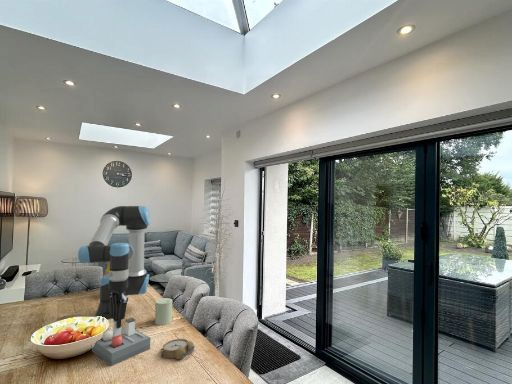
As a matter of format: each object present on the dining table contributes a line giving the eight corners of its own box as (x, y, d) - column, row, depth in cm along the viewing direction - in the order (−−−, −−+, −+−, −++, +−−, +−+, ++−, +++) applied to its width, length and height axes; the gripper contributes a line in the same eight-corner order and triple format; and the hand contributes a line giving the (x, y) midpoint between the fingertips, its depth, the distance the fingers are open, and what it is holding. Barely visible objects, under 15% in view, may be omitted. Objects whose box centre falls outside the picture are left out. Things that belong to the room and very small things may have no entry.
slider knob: (124, 334, 126) (125, 319, 127) (131, 332, 129) (131, 317, 129) (128, 336, 124) (128, 321, 125) (135, 334, 127) (135, 319, 127)
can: (166, 326, 148) (167, 303, 148) (151, 324, 150) (151, 302, 150) (175, 319, 157) (175, 297, 157) (160, 317, 159) (160, 296, 159)
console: (91, 350, 122) (91, 337, 122) (128, 336, 136) (129, 324, 136) (111, 365, 111) (112, 351, 111) (150, 348, 124) (150, 336, 124)
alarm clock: (175, 337, 130) (199, 338, 123) (176, 348, 129) (201, 350, 122) (156, 347, 120) (181, 350, 113) (157, 359, 119) (183, 363, 112)
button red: (109, 347, 117) (109, 337, 118) (119, 343, 121) (119, 334, 121) (114, 350, 115) (114, 340, 115) (123, 346, 118) (123, 336, 118)
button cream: (101, 341, 122) (101, 332, 122) (110, 338, 125) (110, 329, 126) (105, 344, 120) (105, 334, 120) (114, 340, 123) (114, 331, 123)
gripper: (102, 278, 120) (100, 333, 119) (117, 283, 112) (115, 343, 111) (120, 275, 126) (118, 327, 125) (134, 279, 118) (133, 336, 117)
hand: (116, 334), depth 118 cm, fingers closed
